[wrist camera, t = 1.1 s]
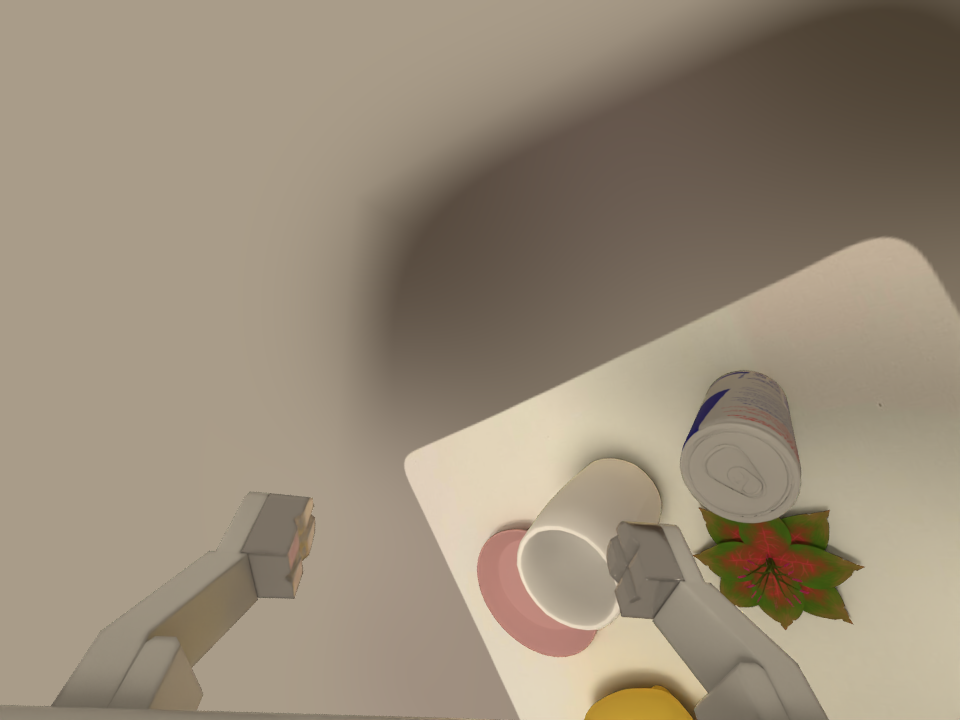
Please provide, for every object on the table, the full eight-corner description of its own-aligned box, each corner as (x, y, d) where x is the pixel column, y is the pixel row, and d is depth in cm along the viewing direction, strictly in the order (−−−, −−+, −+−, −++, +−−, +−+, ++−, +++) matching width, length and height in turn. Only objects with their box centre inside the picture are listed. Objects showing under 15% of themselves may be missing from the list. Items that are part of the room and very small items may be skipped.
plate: (559, 505, 46) (551, 514, 44) (630, 635, 44) (625, 650, 42) (466, 539, 54) (457, 547, 52) (523, 650, 52) (515, 663, 50)
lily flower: (705, 615, 40) (699, 651, 36) (677, 488, 39) (668, 511, 35) (881, 640, 33) (896, 687, 29) (850, 487, 32) (862, 515, 29)
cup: (562, 472, 45) (491, 542, 33) (630, 435, 41) (577, 500, 29) (611, 546, 43) (555, 647, 32) (687, 516, 39) (656, 621, 27)
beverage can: (709, 365, 36) (682, 413, 24) (792, 373, 33) (810, 433, 21) (702, 430, 37) (673, 508, 25) (782, 443, 34) (794, 540, 22)
